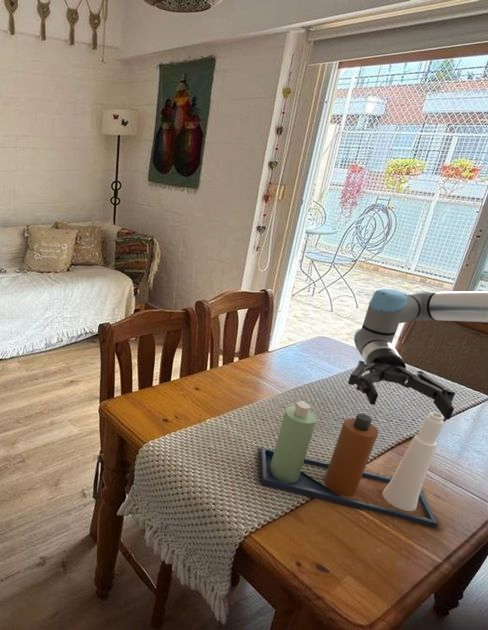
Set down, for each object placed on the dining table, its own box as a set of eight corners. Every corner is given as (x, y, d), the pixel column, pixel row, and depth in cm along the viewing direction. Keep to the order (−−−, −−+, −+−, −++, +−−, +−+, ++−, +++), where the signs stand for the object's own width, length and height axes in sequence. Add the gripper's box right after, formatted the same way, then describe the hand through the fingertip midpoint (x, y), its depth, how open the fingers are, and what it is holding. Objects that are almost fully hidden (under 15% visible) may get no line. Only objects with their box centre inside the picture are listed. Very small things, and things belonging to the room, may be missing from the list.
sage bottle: (304, 475, 98) (325, 407, 90) (289, 487, 95) (310, 417, 87) (279, 460, 102) (297, 393, 95) (264, 470, 99) (282, 402, 92)
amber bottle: (360, 489, 95) (387, 419, 87) (347, 502, 91) (374, 430, 84) (331, 472, 99) (354, 404, 92) (318, 484, 96) (341, 414, 88)
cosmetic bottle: (377, 487, 95) (412, 402, 86) (410, 494, 94) (449, 409, 85) (386, 508, 90) (424, 420, 81) (421, 516, 88) (463, 428, 79)
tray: (414, 491, 95) (418, 483, 95) (434, 532, 86) (438, 523, 85) (259, 454, 105) (261, 446, 104) (261, 487, 95) (263, 479, 95)
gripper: (436, 383, 109) (475, 434, 91) (324, 364, 117) (340, 408, 98) (447, 357, 106) (490, 404, 88) (332, 339, 114) (349, 379, 95)
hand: (411, 406), depth 93 cm, fingers open, 13 cm apart
